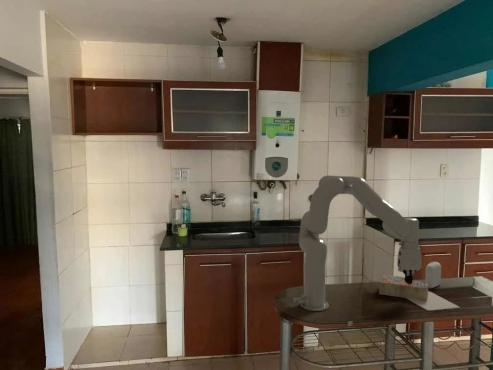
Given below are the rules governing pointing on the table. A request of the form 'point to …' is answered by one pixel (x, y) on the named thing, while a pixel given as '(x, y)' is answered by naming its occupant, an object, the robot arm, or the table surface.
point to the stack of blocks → (403, 288)
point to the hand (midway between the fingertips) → (408, 283)
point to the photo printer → (433, 274)
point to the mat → (434, 303)
